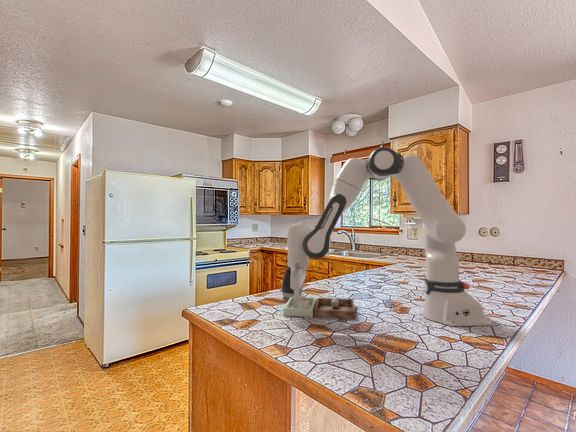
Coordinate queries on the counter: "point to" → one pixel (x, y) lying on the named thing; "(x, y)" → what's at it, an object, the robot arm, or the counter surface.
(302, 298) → the beige cube
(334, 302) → the round pebble
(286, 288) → the black rounded cone
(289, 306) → the green tray
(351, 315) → the walnut crate
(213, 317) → the counter surface
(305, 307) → the small beige block
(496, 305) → the counter surface
